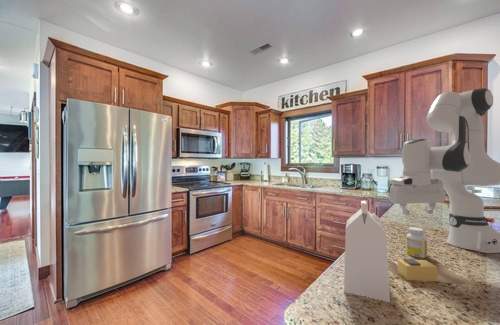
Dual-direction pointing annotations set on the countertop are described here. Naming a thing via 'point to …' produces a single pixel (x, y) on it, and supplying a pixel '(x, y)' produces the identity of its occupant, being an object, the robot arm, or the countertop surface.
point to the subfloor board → (443, 274)
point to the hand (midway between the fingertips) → (417, 214)
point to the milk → (366, 256)
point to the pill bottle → (416, 243)
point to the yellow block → (417, 270)
